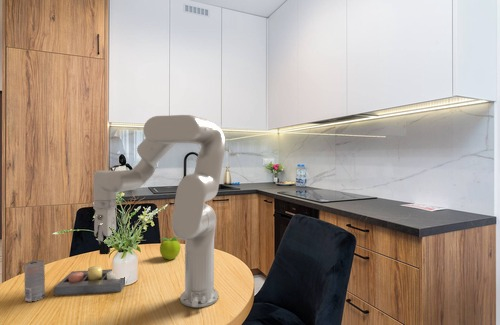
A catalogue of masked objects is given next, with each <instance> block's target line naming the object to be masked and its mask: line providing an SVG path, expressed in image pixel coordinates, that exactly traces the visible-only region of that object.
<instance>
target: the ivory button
mask: <svg viewBox="0 0 500 325" xmlns="http://www.w3.org/2000/svg"><path fill="white" fill-rule="evenodd" d="M113 279H116V276H115V274H113V271H110V272H108V273H107V280H113Z"/></svg>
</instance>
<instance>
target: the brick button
mask: <svg viewBox="0 0 500 325" xmlns="http://www.w3.org/2000/svg"><path fill="white" fill-rule="evenodd" d="M69 274H70V273H69ZM69 274H68V275H69ZM82 280H83V273H82V272H76V273H72V274H70V275H69V282H78V281H82Z"/></svg>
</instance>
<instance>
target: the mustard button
mask: <svg viewBox="0 0 500 325" xmlns="http://www.w3.org/2000/svg"><path fill="white" fill-rule="evenodd" d="M102 270H103V266H102V265H94V266H91V267H88V269H87V271H88V281H96V280H101V279H102Z"/></svg>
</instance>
